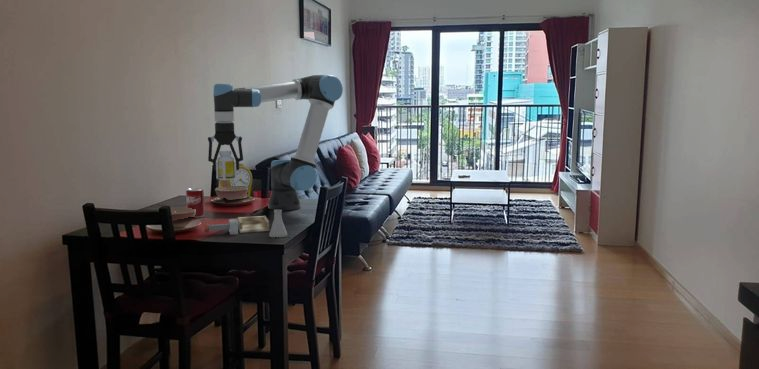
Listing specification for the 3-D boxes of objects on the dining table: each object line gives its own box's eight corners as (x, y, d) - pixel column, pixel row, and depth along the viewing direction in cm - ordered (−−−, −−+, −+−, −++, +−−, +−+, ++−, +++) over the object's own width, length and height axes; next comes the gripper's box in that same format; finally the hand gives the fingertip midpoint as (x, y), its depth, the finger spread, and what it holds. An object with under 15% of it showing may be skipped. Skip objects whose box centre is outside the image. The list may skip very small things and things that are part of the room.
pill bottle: (237, 178, 233) (236, 150, 231) (228, 180, 227) (227, 152, 225) (224, 177, 236) (223, 150, 234) (215, 179, 230) (213, 151, 228)
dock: (265, 223, 233) (265, 215, 233) (269, 230, 221) (269, 222, 221) (237, 225, 230) (237, 217, 229) (239, 232, 218) (239, 224, 217)
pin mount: (237, 230, 221) (236, 218, 221) (238, 234, 216) (237, 222, 215) (229, 231, 220) (228, 219, 220) (230, 234, 215) (229, 222, 214)
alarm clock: (228, 201, 280) (227, 165, 277) (219, 199, 285) (218, 163, 282) (253, 197, 290) (252, 162, 287) (244, 195, 296) (243, 161, 293)
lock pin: (239, 229, 220) (239, 220, 220) (240, 231, 217) (240, 222, 216) (204, 231, 216) (204, 222, 216) (204, 233, 213) (204, 224, 212)
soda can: (199, 218, 242) (198, 191, 240) (184, 217, 243) (182, 190, 241) (207, 214, 249) (206, 188, 247) (192, 214, 250) (191, 187, 248)
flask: (269, 233, 217) (269, 208, 216) (288, 233, 218) (288, 208, 216) (267, 238, 210) (267, 212, 208) (287, 238, 211) (286, 212, 209)
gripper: (248, 121, 234) (250, 176, 238) (199, 121, 229) (202, 177, 232) (249, 122, 227) (251, 178, 231) (199, 122, 221) (201, 180, 225)
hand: (226, 178), depth 231 cm, fingers closed on pill bottle, 6 cm apart
